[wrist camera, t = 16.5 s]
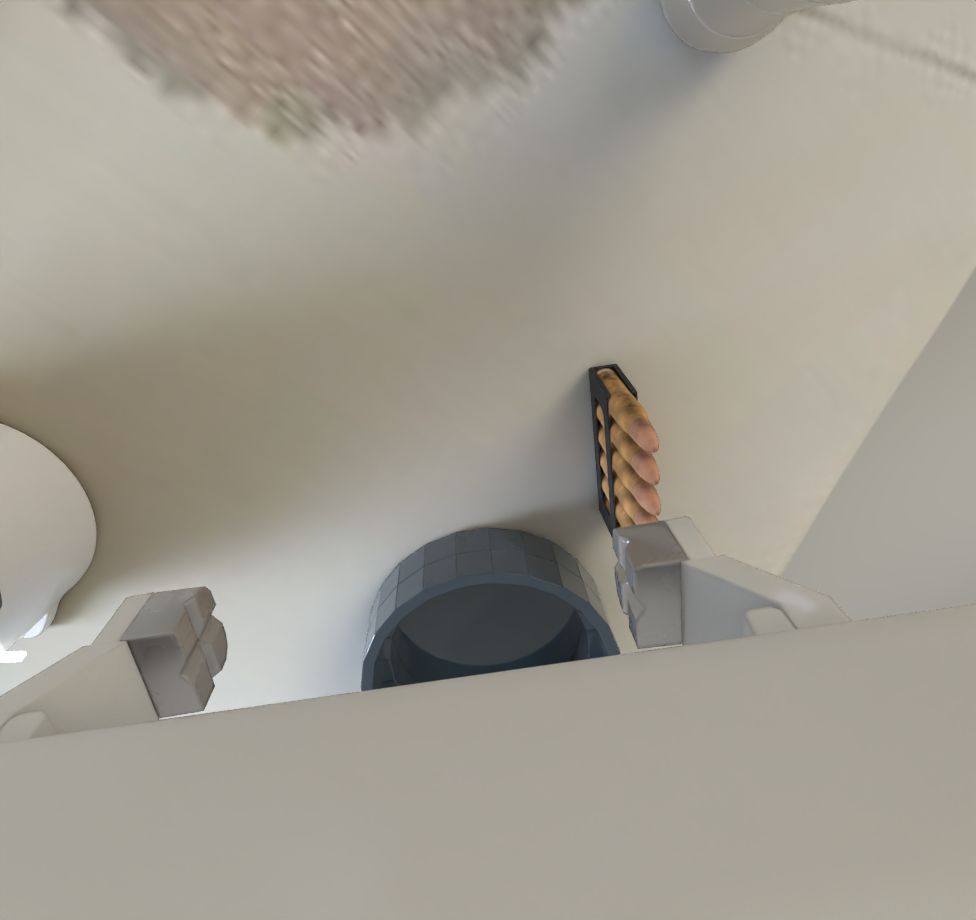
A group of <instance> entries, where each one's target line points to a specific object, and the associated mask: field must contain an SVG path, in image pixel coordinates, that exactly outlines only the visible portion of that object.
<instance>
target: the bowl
mask: <svg viewBox="0 0 976 920" xmlns="http://www.w3.org/2000/svg"><path fill="white" fill-rule="evenodd" d="M613 655H620V650H619V647H618V644H617V641H616V638H615V636H614V633H613V630H612V627H611V624H610V622H609V619H608V616H607V613H606V610H605V607H604V605H603V602H602V599H601V597H600V595H599V592H598V590H597V587H596V585H595V583H594V580H593V579H592V577H591V576H590V575H589V573H588V572H587V571H586V570H585V569H584V568H583V566H582V565H581V564H580V563H579V562H578V560H577V559H576V558H574V557H573V556H572V555H570V554H569V553H567V552H566V551H564V550H563V549H561V548H560V547H558V546H557V545H555V544H554V543H552V542H550V541H548V540H545V539H542V538H539V537H536V536H533V535H530V534H527V533H525V532H521V531H516V530H505V529H494V528H485V529H478V530H471V531H464V532H457V533H454V534H451V535H449V536H446V537H444V538H441V539H438V540H436V541H433V542H431V543H428V544H426V545H424V546H423V547H422V548H420V549H419V550H417V551H416V552H415V553H413V554H412V555H410V556H409V557H407V558H406V559H405V560H403V561H402V562H401V563H399V565H398V566H397V567H396V568H395V570H394V571H393V572H392V573H391V574H390V576H389V577H388V578H387V579H386V580H385V582H384V583H383V584H382V586H381V588H380V591H379V593H378V595H377V598H376V600H375V603H374V605H373V608H372V611H371V616H370V622H369V628H368V634H367V640H366V646H365V652H364V658H363V667H362V680H361V691H367V690H374V689H381V688H388V687H396V686H403V685H410V684H417V683H424V682H431V681H438V680H445V679H452V678H459V677H466V676H473V675H480V674H487V673H494V672H501V671H508V670H515V669H522V668H529V667H536V666H543V665H550V664H557V663H564V662H571V661H578V660H585V659H592V658H599V657H606V656H613Z"/></svg>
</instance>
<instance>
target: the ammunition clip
mask: <svg viewBox="0 0 976 920" xmlns="http://www.w3.org/2000/svg"><path fill="white" fill-rule="evenodd" d="M589 379H590V392H591V405H592V418H593V431H594V444H595V458H596V471H597V484H598V497H599V510H600V513H601V515H602V517H603V519H604V521H605V523H606V526H607V528H608V530H609V532H610V534H611V536H612V538H613V529H615V528H621V527H627V526H633V525H639V524H645V523H651V522H657V521H658V519H657V517H656V515H659V514H660V511H661V504H660V499H659V496H658V493H657V491H656V489H655V487H654V485H653V484H655V485H656V484H658V483H659V480H660V474H659V469H658V466H657V464H656V461H655V459H654V458H653V456H652V454H651V452H656V451H657V450H658V447H659V444H658V437H657V435H656V433H655V430H654V428H653V427H652V426H651V424H650V422H649V420H648V417H647V414H646V412H645V410H644V409H643V407H642V406H641V405H640V403H639V402H638V400H637V391H636V390H635V388H634V387H633V386H632V384H631V383H630V381H629V380H628V379H627V377H626V376H625V375H624V373H623V372H622V371H621V369H620V368H619V367H618V365H617V364H612V365H606V366H599V367H592V368H590V369H589Z"/></svg>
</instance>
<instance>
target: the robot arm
mask: <svg viewBox="0 0 976 920" xmlns="http://www.w3.org/2000/svg"><path fill="white" fill-rule="evenodd" d="M96 538H97V532H96V522H95V517H94V513H93V510H92V507H91V504H90V501H89V499H88V497H87V495H86V493H85V491H84V489H83V488H82V486H81V484H80V483H79V481H78V480H77V479H76V477H75V476H74V474H73V473H72V472H71V471H70V470H69V468H68V467H67V466H66V465H65V464H64V463H63V462H62V461H61V460H60V459H59V458H58V457H57V456H56V455H54V454H53V453H52V452H51V451H50V450H48V449H47V448H46V447H44V446H43V445H42V444H40V443H39V442H37V441H36V440H34V439H33V438H31V437H29V436H27V435H26V434H24V433H22V432H20V431H18V430H16V429H14V428H11V427H9V426H7V425H4V424H1V423H0V662H21V661H22V660H23V659H24V658H25V656H26V655H27V654H26V651H7V650H8V649H9V648H10V647H11V646H12V645H13V644H15V643H16V642H17V641H18V640H19V639H20V638H31V637H36V636H38V635H40V634H41V633H43V632H44V631H45V630H46V629H47V628H48V627H49V626H50V625H51V624H52V622H53V620H54V617H55V615H56V611H57V608H58V604H59V601H60V599H61V598H62V596H63V595H64V594H65V593H66V592H67V591H68V590H69V589H71V588H72V587H73V586H74V585H75V584H76V583H77V582H78V581H79V580H80V579H81V578H82V576H83V575H84V574H85V572H86V571H87V569H88V567H89V565H90V563H91V561H92V558H93V556H94V552H95V547H96ZM613 549H614V551H615V554H616V556H617V558H618V562H617V564H616V565H615V567H614V569H615V580H616V587H617V593H618V597H619V601H620V604H621V607H622V610H623V612H624V613H625V614H627V615H628V616H629V628H630V630H631V632H632V635H633V637H634V640H635V642H636V645H637V647H638V649H641V648H650V647H659V646H667V645H676V644H683V646H676V647H669V648H662V649H655V650H648V651H641V652H634V653H627V654H620V655H613V656H606V657H599V658H592V659H585V660H578V661H571V662H564V663H557V664H550V665H543V666H536V667H529V668H522V669H515V670H508V671H501V672H494V673H487V674H480V675H473V676H466V677H459V678H452V679H445V680H438V681H431V682H424V683H417V684H410V685H403V686H396V687H388V688H381V689H374V690H367V691H360V692H353V693H346V694H339V695H332V696H325V697H318V698H311V699H304V700H297V701H290V702H283V703H276V704H269V705H262V706H255V707H248V708H241V709H234V710H227V711H220V712H212V713H205V714H198V715H191V716H184V717H177V718H170V719H163V720H159V718H164V717H170V716H175V715H181V714H187V713H193V712H199V711H204V709H205V707H206V705H207V702H208V700H209V698H210V696H211V693H212V691H213V689H214V687H215V685H214V682H213V679H212V677H214V676H215V675H216V674H217V673H219V672H220V671H221V670H222V668H223V666H224V663H225V661H226V656H227V638H226V632H225V629H224V626H223V623H222V622H220V621H219V620H218V619H216V618H215V617H214V616H212V615H211V614H212V612H213V610H214V608H215V605H216V603H215V601H214V598H213V596H212V593H211V591H210V590H209V589H208V588H206V587H205V586H204V587H196V588H188V589H180V590H172V591H163V592H157V593H154V592H152V593H146V594H140V595H134V596H130V597H127V598H126V599H125V600H124V601H123V603H122V604H121V605H120V607H119V608H118V609H117V611H116V612H115V613H114V615H113V616H112V617H111V619H110V620H109V622H108V623H107V624H106V626H105V627H104V628H103V630H102V631H101V632H100V634H99V635H98V636H97V638H96V639H95V640H94V642H93V643H92V644H91V645H90V646H83V647H81V648H80V649H78V650H76V651H75V652H73V653H71V654H70V655H68V656H66V657H65V658H63V659H61V660H60V661H58V662H56V663H55V664H53V665H51V666H50V667H48V668H47V669H45V670H43V671H42V672H40V673H38V674H37V675H35V676H33V677H32V678H30V679H28V680H27V681H25V682H23V683H22V684H20V685H18V686H17V687H15V688H13V689H12V690H10V691H8V692H7V693H5V694H4V695H2V696H0V920H976V604H972V605H964V606H957V607H950V608H943V609H936V610H929V611H922V612H915V613H908V614H901V615H894V616H887V617H880V618H873V619H865V620H859V621H852V620H851V619H850V618H849V617H848V616H847V615H846V614H845V612H844V611H843V610H842V609H841V608H840V607H839V606H838V605H837V603H836V602H835V601H834V600H833V599H832V598H831V597H830V596H827V595H824V594H822V593H819V592H817V591H814V590H812V589H809V588H806V587H804V586H801V585H799V584H796V583H794V582H791V581H789V580H786V579H783V578H781V577H778V576H776V575H773V574H771V573H768V572H765V571H763V570H760V569H758V568H755V567H753V566H750V565H748V564H745V563H742V562H740V561H737V560H735V559H732V558H730V557H727V556H724V555H722V556H716V554H715V553H714V552H713V550H712V549H711V547H710V546H709V545H708V543H707V542H706V540H705V539H704V537H703V536H702V535H701V533H700V532H699V530H698V529H697V528H696V526H695V525H694V523H693V522H692V520H691V519H690V518H689V517H680V518H675V519H669V520H663V521H657V522H651V523H645V524H639V525H633V526H627V527H621V528H615V529H613Z"/></svg>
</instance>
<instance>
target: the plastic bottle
mask: <svg viewBox="0 0 976 920" xmlns="http://www.w3.org/2000/svg"><path fill="white" fill-rule="evenodd" d="M851 1H856V0H661V5H662V9H663V13H664V16H665V18H666V20H667V22H668V24H669V26H670V27H671V29H672V30H673V31H674V33H675V34H676V35H677V36H678V37H679V38H680V39H681V40H682V41H684V42H685V43H686V44H688V45H690V46H692V47H694V48H696V49H699V50H703V51H707V52H715V53H729V52H734V51H739V50H742V49H744V48H747V47H749V46H751V45H753V44H755V43H756V42H757V41H759V40H760V39H762V38H763V37H765V36H766V35H767V34H768V33H770V32H771V31H772V30H773V29H774V28H775V27H776V26H777V25H778V24H779V23H780V22H781V21H782V20H783V19H784V18H785V17H787V16H788V15H790V14H791V13H793V12H796V11H798V10H802V9H805V8H809V7H812V6H821V5H830V4H841V3H846V2H851Z"/></svg>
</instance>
